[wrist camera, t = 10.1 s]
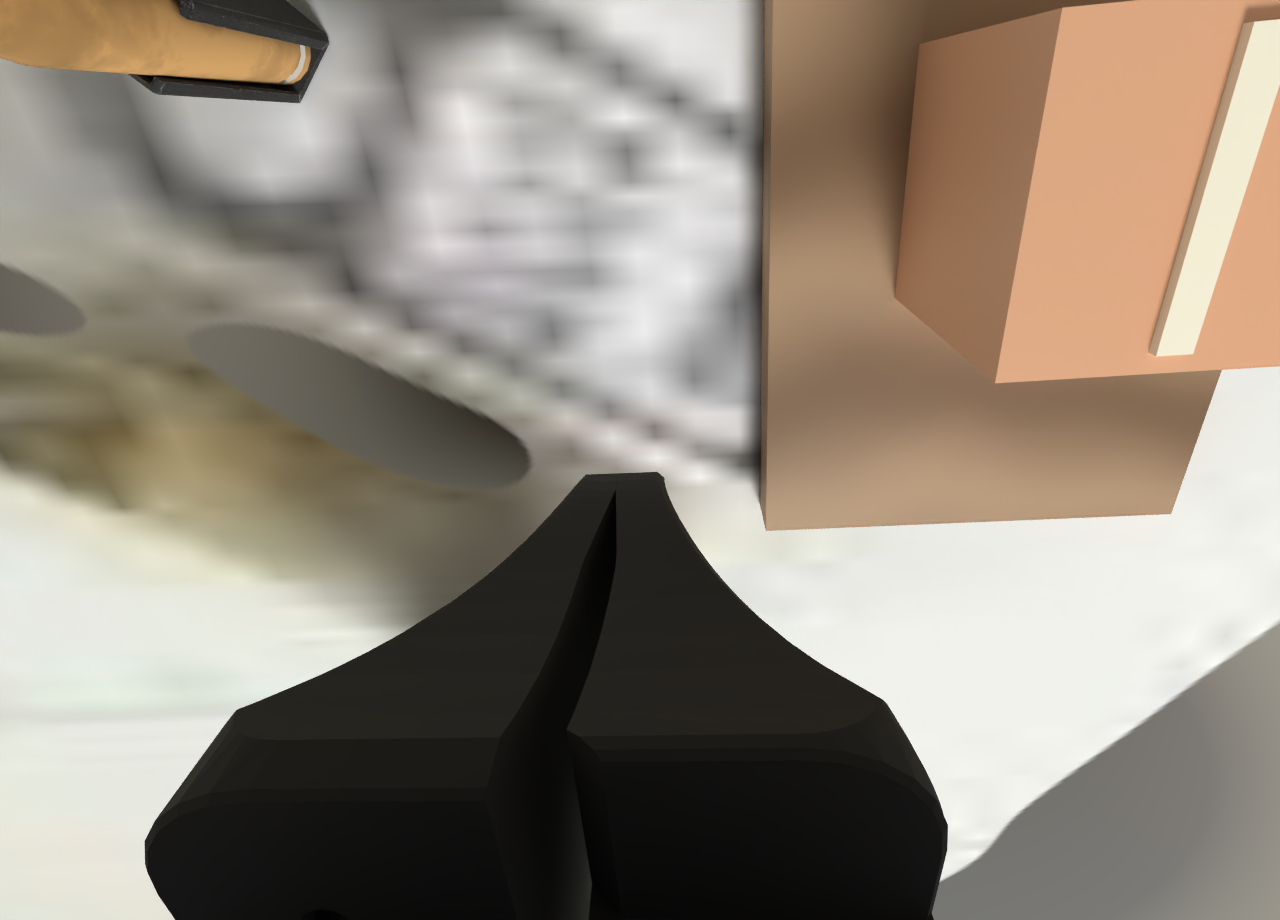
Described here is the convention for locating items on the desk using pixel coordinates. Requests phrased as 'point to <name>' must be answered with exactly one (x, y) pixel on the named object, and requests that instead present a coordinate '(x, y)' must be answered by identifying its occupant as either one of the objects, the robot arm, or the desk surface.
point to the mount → (913, 316)
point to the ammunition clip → (172, 44)
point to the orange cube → (1099, 191)
